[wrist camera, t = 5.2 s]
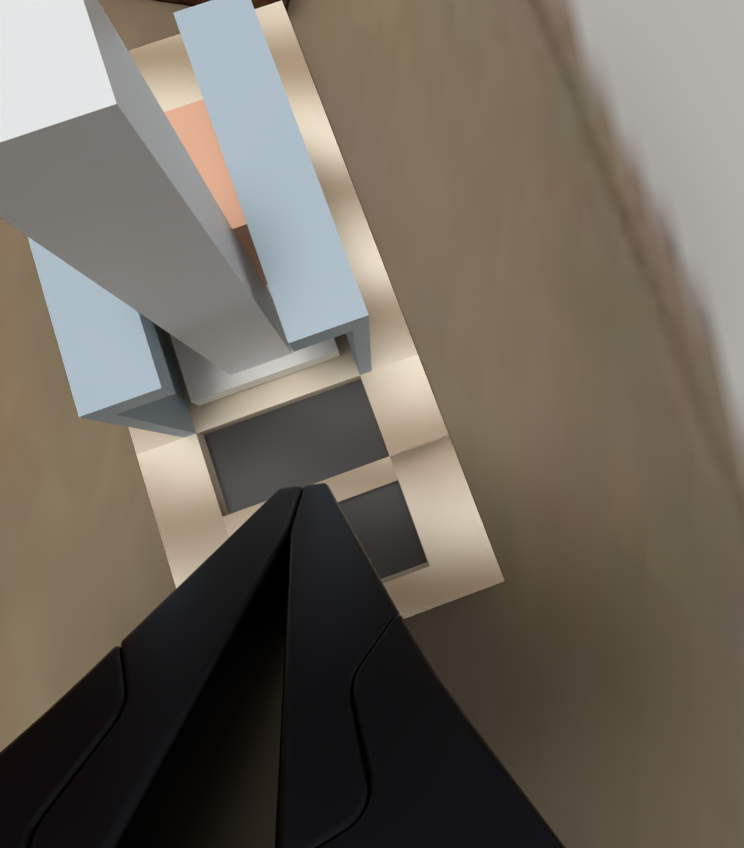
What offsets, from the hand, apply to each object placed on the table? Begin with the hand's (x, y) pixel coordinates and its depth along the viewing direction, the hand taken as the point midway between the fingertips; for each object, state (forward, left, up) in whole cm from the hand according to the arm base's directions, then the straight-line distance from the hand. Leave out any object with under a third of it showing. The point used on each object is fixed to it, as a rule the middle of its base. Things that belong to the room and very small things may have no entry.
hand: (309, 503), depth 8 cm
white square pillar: (+10, +1, -10) cm, 14 cm away
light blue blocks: (+9, +2, -11) cm, 14 cm away
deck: (+8, +1, -11) cm, 13 cm away
